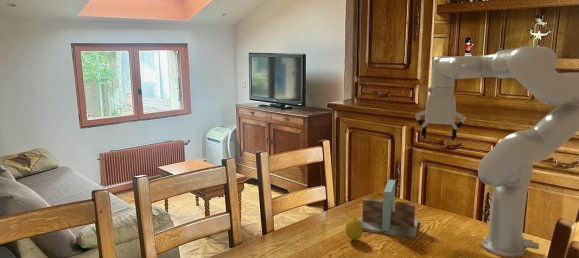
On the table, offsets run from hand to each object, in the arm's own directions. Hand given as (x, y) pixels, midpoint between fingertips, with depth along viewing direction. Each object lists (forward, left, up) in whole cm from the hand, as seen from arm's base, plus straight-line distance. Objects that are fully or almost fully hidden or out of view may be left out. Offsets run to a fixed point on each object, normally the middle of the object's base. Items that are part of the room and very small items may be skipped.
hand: (438, 138), depth 156 cm
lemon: (+24, +29, -31) cm, 49 cm away
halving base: (+15, +13, -30) cm, 36 cm away
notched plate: (+15, +13, -29) cm, 35 cm away
